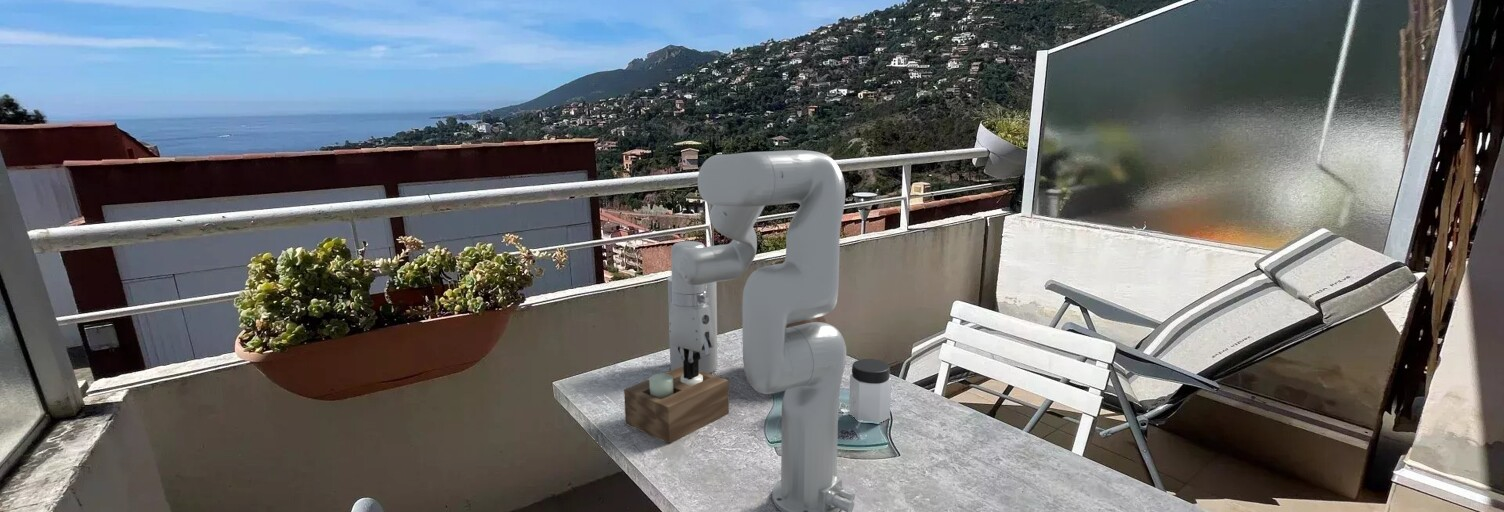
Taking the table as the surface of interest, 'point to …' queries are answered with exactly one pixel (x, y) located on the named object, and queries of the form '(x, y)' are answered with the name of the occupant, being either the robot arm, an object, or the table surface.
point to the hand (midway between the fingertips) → (691, 376)
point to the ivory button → (692, 380)
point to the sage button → (661, 385)
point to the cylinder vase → (711, 361)
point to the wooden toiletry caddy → (677, 406)
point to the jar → (870, 390)
